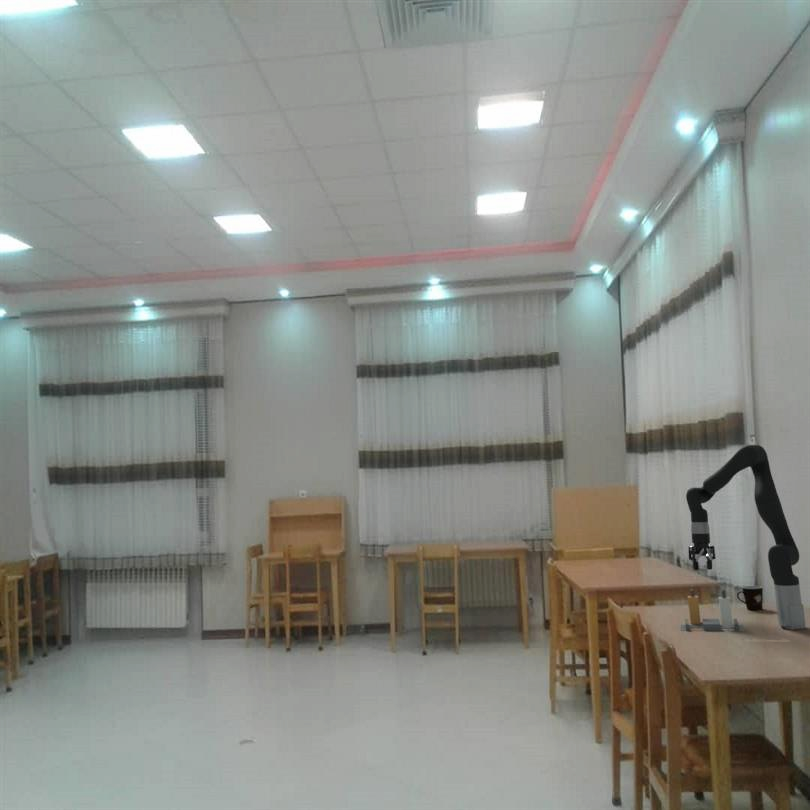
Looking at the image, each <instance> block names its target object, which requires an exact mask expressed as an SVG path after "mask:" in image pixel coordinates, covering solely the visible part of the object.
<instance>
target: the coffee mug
mask: <svg viewBox="0 0 810 810" xmlns="http://www.w3.org/2000/svg"><path fill="white" fill-rule="evenodd" d="M763 588H764V587H763V586H760V585H745V586H742V587H741V589H742V591H738V592H737V594H736V596H737V599H738V600H739V601H740V602H741V603H743V604H745V606H746V610H747V609H748V610H747V611H749V610H753V611H752V612H760V611H759V610H761V611H762V610H763ZM740 594H743V598H744V600H742V599H741V598H740V596H739V595H740Z"/></svg>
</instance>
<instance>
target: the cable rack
mask: <svg viewBox="0 0 810 810" xmlns="http://www.w3.org/2000/svg"><path fill="white" fill-rule="evenodd" d="M701 620H702V624H689V619H688V618H685V619H684V623H685V624H680V632H745V628H744V626H743V624H739V622H738V619H737V618H732V622H733V629H722V624H721V623H720V619H719V618H702V619H701Z"/></svg>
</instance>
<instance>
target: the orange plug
mask: <svg viewBox="0 0 810 810" xmlns="http://www.w3.org/2000/svg"><path fill="white" fill-rule="evenodd" d="M687 601H688V611H689V620H690V625H702V623H701V613H700V604H699V596H698V595H695V589H692V588H691V589H690V595H688V596H687Z"/></svg>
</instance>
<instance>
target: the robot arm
mask: <svg viewBox="0 0 810 810" xmlns="http://www.w3.org/2000/svg"><path fill="white" fill-rule="evenodd" d="M747 468H751V471H752V473H753V476H754V495H753V496H754V503H755V506H756V509H757V512H758V514H759V516H760V518H761V519H762V521H763V522H764V524H765V526H767V528H769V530H770V532H771V533H772V536H773V539H774V542H775V545H773V546H771V547H769V550H768V553H767V560H768V566H769V567H768V568H769V572H770V576H771V578H772V581H773V585H774V588H773V589H774V595H775V596H774V597H775V604H776V611H777V621H778V626H780V627H781V629H784V630H791V631H794V630H795V629H796V630H803V629H806V628H807V626H806V617H805V610H804V604H803V603H802V595H801V588H800V580H799V579H800V578H799V577H798V576H797V575H795V573H794V571H793V566H795V565H797V563H798V562H799V561H800V551H799V549H798V546H797V544H796V542H795V540H794V537H793V536H792V533H791V530H790V527H789V524H788V522H787V518H786V516H785V512H784V509H783V506H782V503H781V500H780V497H779V494H778V491H777V489H776V484H775V482H774V479H773V476H772V472H771V467H770V461H769V458H768V453H767V451H766V450H765V448H764V447H763V446H761V445H759V444H746V445H743V446H741V447H740V448H739V449H738V450H737V451H736V452H735V453H734V455H732V457H731V458H730V459H729V460H728V461H727V462H725V464H723V466H721V467H720V468H718V469H717V470H716V471H715V472H714V473H712V474H710V475H709V476H708V477H707V478H705V479H704V481H702V486H701V487H690V488H688V489H687V491H686V495H685V497H686V503H687V505H688V506H687V507H688V509H689V512H690V520H691V525H690V527H691V529H690V531H691V543H692V544H693V546H692V545H691V546H688V560H689V561H691V562H692V568H693V570H694V571H699V569H700V567H699V559H700V558H701V557H704V558H705V559H706V570H711V571H712V570H713V560H716V551H715V550H716V549H715V546H714V545H710V543H711V534H710V524H709V515H708V511H707V509H705V508H704V507H703V506H702V504H705V503H707V502H709V501H710V500H711V499H712V498H713V497H714V496H715V495H716V493H717V492H719V491H721V489H723V488H724V487H726V485H728V484H729V483H730V482H731V480H732V479H733V478H734V476H735V475H737V474H738V473H740V472H741V471H743V470H745V469H747Z"/></svg>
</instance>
